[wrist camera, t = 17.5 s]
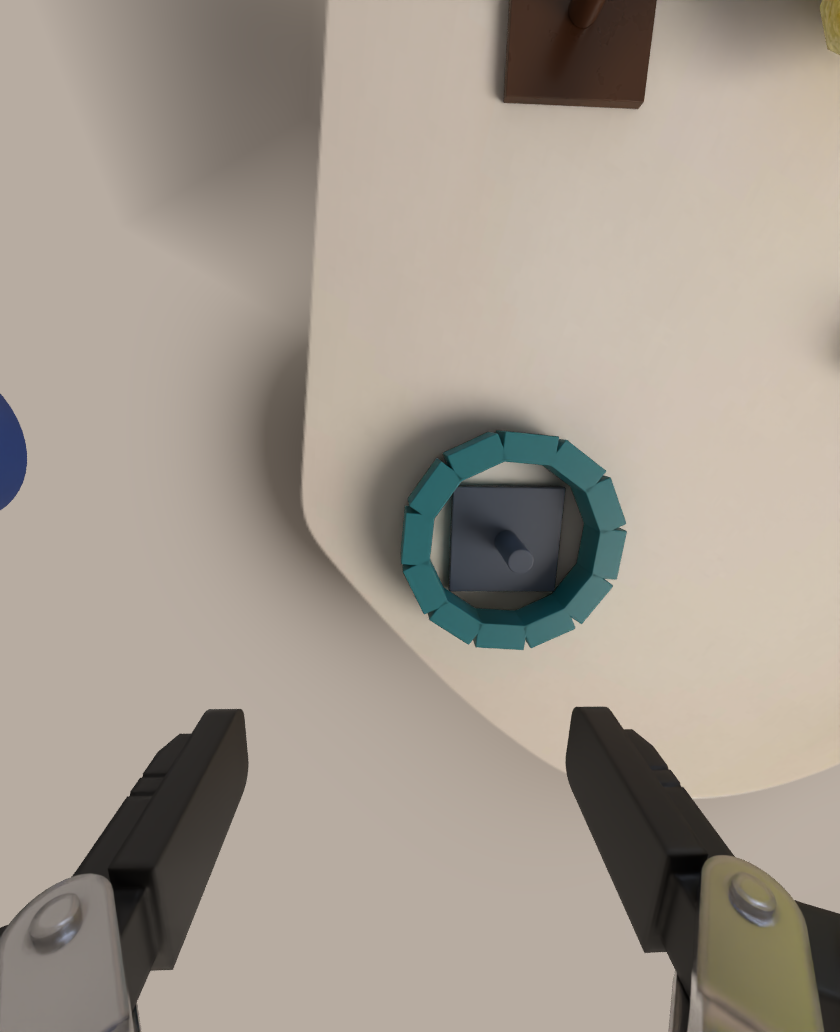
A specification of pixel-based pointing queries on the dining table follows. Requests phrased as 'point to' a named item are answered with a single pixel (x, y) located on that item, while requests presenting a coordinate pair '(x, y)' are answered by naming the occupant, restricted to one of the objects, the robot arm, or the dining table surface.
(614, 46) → the ring post
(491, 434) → the ring
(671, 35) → the dining table surface
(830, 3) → the lettuce
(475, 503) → the peg
